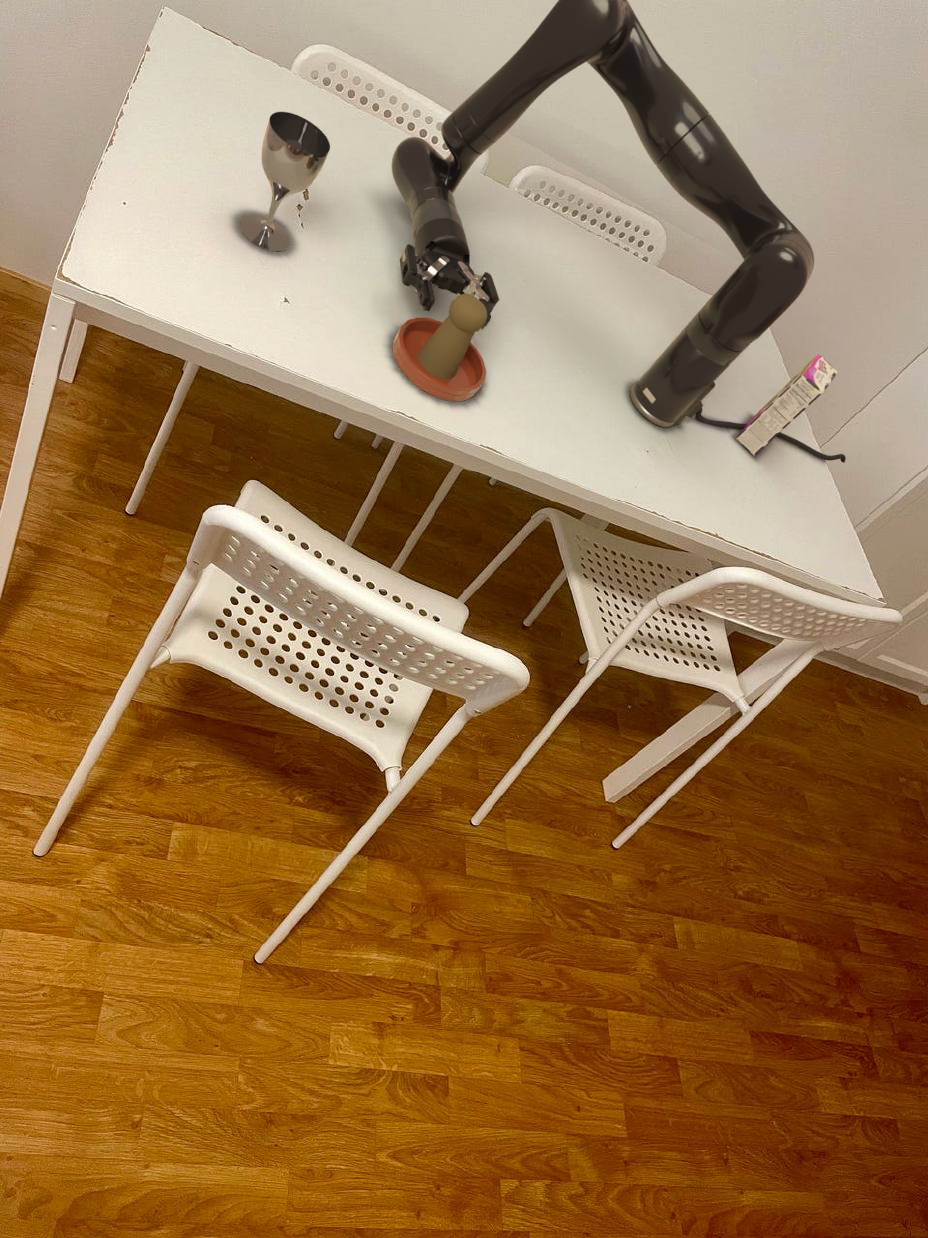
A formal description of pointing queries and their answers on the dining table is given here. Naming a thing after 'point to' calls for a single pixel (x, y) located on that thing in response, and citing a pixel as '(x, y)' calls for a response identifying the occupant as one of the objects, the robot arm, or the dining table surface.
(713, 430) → the dining table surface
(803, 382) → the candy bar box
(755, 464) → the dining table surface
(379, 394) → the dining table surface
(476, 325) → the brown game pawn
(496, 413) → the dining table surface
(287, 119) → the silver goblet
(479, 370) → the dish
